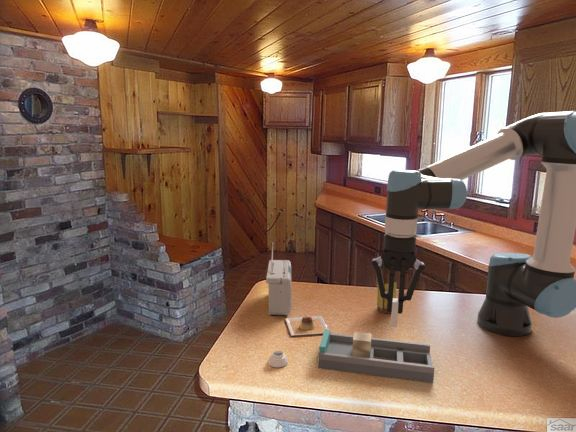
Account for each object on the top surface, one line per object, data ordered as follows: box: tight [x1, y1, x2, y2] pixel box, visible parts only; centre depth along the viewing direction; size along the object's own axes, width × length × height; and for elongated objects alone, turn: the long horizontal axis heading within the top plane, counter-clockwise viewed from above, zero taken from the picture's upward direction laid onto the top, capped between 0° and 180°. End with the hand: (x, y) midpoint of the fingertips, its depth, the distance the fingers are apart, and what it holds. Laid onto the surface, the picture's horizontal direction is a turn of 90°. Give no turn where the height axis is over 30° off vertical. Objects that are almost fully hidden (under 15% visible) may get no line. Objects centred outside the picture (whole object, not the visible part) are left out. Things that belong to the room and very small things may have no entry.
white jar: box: [267, 349, 289, 368], centre depth 112 cm, size 5×3×5 cm
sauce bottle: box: [376, 260, 397, 314], centre depth 143 cm, size 7×6×20 cm
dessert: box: [284, 313, 332, 337], centre depth 133 cm, size 12×12×5 cm
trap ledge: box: [317, 328, 435, 384], centre depth 112 cm, size 28×12×6 cm, turn 77°
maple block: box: [352, 331, 372, 358], centre depth 112 cm, size 4×4×4 cm
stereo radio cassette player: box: [265, 242, 292, 317], centre depth 148 cm, size 21×8×20 cm, turn 179°
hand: (393, 324), depth 109 cm, fingers closed
